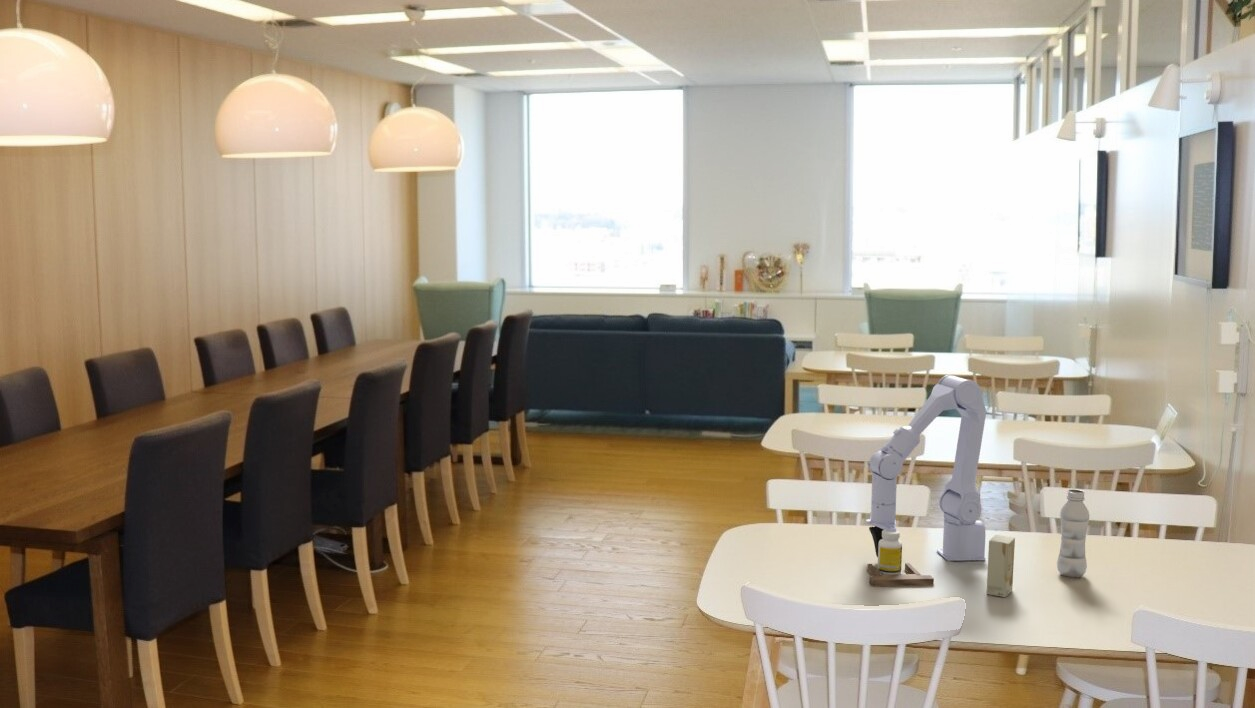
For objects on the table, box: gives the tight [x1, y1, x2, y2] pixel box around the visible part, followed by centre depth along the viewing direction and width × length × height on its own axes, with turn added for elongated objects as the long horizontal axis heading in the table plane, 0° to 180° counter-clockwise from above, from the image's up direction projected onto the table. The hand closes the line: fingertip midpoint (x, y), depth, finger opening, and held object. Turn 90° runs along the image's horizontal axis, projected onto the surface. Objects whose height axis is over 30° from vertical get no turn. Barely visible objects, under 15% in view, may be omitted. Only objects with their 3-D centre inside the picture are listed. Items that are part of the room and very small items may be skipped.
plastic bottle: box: [1056, 489, 1090, 578], centre depth 268 cm, size 6×7×20 cm
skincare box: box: [985, 534, 1016, 598], centre depth 257 cm, size 6×4×12 cm
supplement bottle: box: [877, 529, 903, 575], centre depth 271 cm, size 5×5×10 cm
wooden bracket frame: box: [866, 562, 935, 587], centre depth 268 cm, size 14×11×2 cm
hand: (881, 557), depth 279 cm, fingers closed
